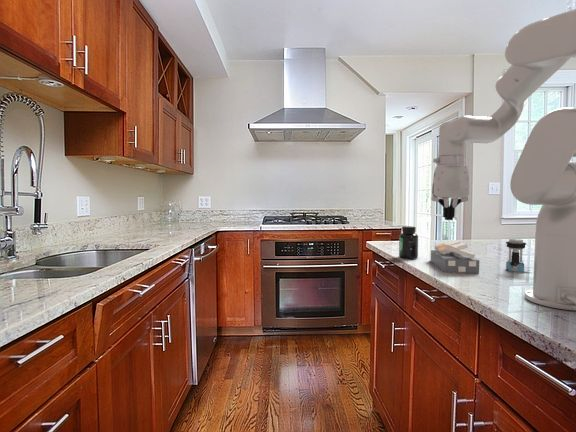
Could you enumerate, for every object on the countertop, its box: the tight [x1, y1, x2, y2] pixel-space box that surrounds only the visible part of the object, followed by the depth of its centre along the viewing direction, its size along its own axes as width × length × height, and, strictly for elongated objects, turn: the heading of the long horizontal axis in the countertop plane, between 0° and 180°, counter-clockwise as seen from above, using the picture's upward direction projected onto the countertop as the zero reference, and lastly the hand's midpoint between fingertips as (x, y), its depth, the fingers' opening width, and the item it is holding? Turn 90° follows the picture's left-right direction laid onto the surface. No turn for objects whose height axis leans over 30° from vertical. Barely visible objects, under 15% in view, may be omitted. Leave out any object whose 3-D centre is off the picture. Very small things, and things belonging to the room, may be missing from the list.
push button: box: [505, 238, 531, 273], centre depth 106 cm, size 7×5×10 cm
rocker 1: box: [434, 239, 462, 251], centre depth 119 cm, size 4×8×1 cm, turn 80°
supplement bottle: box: [398, 225, 419, 260], centre depth 129 cm, size 7×7×12 cm
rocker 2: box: [439, 241, 469, 254], centre depth 113 cm, size 4×8×1 cm, turn 80°
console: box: [430, 249, 480, 274], centre depth 113 cm, size 18×10×5 cm, turn 170°
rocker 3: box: [445, 245, 476, 258], centre depth 107 cm, size 4×8×1 cm, turn 80°
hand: (448, 219), depth 107 cm, fingers closed
